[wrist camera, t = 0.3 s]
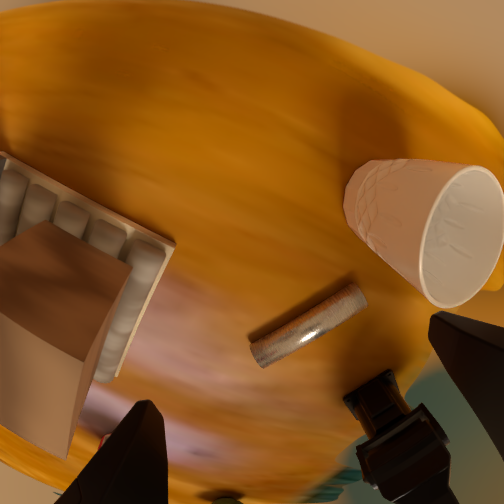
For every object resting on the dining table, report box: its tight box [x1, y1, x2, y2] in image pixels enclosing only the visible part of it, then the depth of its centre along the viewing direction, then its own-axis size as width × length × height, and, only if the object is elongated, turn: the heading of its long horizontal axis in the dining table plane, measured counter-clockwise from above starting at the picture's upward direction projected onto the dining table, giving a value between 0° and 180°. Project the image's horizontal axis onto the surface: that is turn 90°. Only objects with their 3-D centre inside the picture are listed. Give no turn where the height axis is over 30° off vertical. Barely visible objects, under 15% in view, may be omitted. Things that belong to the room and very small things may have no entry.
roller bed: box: [0, 151, 176, 383], centre depth 16 cm, size 17×14×8 cm
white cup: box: [343, 159, 504, 308], centre depth 16 cm, size 8×8×10 cm
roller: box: [250, 282, 368, 369], centre depth 23 cm, size 2×10×2 cm, turn 121°
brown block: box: [0, 220, 133, 460], centre depth 13 cm, size 7×11×9 cm, turn 149°
